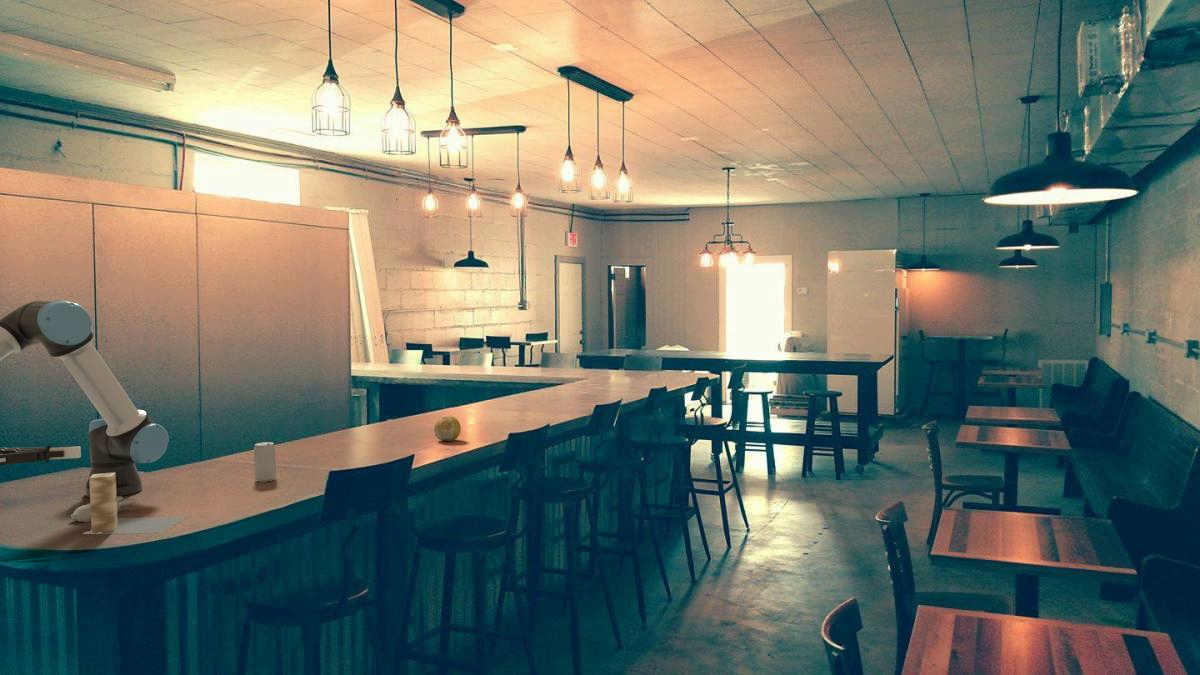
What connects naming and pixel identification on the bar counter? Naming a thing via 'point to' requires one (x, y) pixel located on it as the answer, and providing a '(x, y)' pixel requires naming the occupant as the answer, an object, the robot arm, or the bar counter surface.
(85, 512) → the bunny figurine
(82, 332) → the robot arm
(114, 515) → the maple block
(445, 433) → the fruit
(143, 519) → the rubber mat
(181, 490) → the bar counter surface
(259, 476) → the beverage can
